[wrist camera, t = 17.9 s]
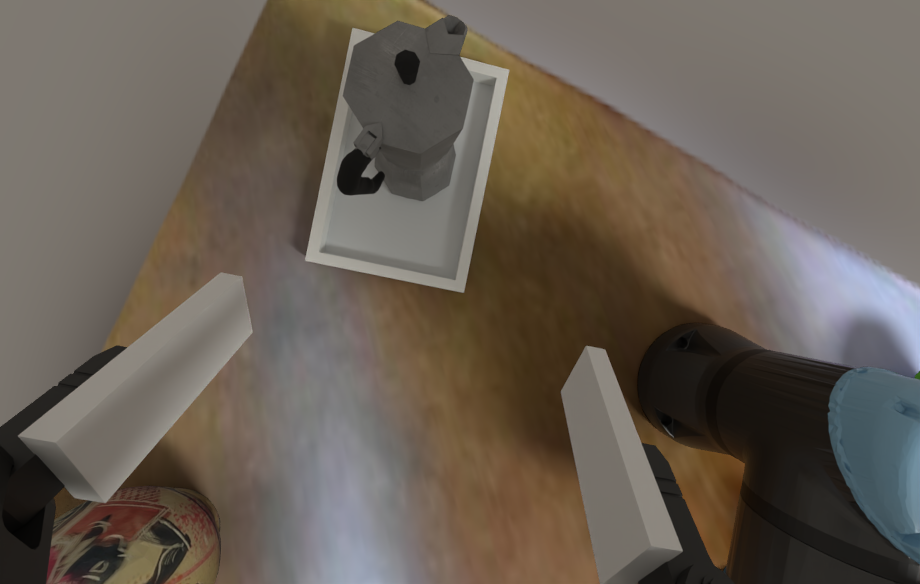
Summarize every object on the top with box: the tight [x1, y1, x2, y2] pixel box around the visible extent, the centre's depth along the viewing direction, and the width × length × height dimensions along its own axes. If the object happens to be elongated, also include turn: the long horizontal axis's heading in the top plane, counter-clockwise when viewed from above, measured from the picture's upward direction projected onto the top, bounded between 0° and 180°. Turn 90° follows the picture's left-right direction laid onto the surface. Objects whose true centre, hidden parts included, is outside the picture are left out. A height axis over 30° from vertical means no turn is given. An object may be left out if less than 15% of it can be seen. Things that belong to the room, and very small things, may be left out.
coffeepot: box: [337, 15, 474, 201], centre depth 31 cm, size 15×9×18 cm, turn 145°
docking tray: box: [305, 28, 509, 293], centre depth 39 cm, size 17×25×2 cm
